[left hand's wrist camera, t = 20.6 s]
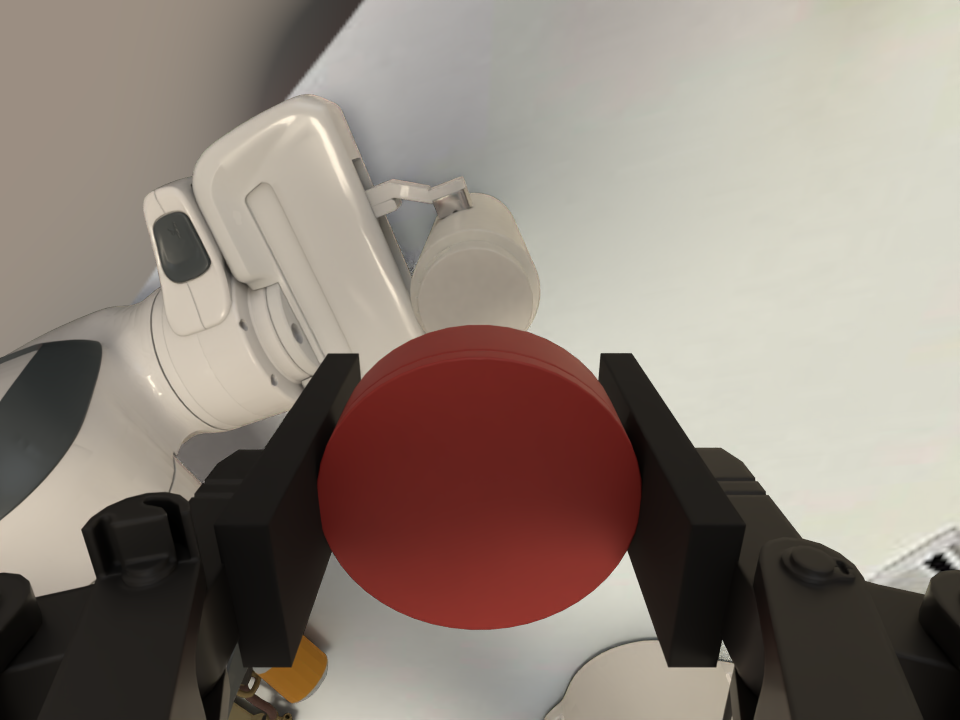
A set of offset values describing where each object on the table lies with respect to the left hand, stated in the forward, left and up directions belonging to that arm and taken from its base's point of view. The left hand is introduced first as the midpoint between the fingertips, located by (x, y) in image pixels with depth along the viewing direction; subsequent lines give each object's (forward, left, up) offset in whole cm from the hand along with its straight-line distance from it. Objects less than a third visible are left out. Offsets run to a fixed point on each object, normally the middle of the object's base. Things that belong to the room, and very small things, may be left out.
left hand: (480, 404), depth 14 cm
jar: (0, 0, -24) cm, 24 cm away
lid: (0, 0, +4) cm, 4 cm away
